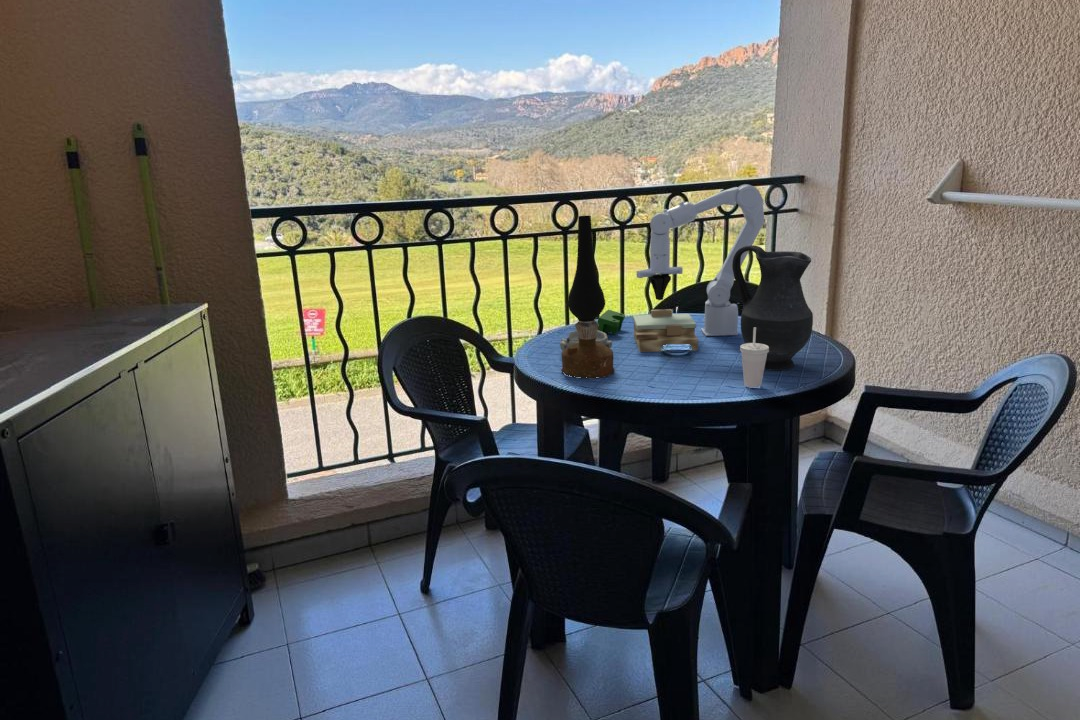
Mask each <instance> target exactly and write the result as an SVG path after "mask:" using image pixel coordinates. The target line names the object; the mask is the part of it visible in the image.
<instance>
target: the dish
mask: <svg viewBox="0 0 1080 720" xmlns="http://www.w3.org/2000/svg"><path fill="white" fill-rule="evenodd" d="M567 337H569V339H570V340H579V339H578V337H579V334H578V332H577V330H576V329H575V330H571V331H569V332H568V335H567ZM595 337H596V343H599V342H600V344H602V345H604V346H606V347H608V348H610V349H611V348H612V346H613V341H612V340H609V338H608V335H607V333H606V332H605V333H604V332H602V331H598V330H597V331H596V334H595ZM560 339H561V340H560V342H559V347H560V349H561V351H562V352H563V351H564V350H565V349H567V348H568V347H570V346H572V345H574V344H576V343H579V341H569V343H567V338H564V337H561V338H560ZM562 352H561V353H562Z"/></svg>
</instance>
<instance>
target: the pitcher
mask: <svg viewBox="0 0 1080 720" xmlns="http://www.w3.org/2000/svg"><path fill="white" fill-rule="evenodd" d="M746 251H749V252H753V253H755V258H756V261H757V262H758V265H759V270H760V280H759V281H760V282H759V284H758V287H757V289H756V291H755V294H754V295H753V297H752V296H751V293H750V291H749V287H748V285H747V283H746V279H745V277H744V275H743V270H742V265H741V266H740V260H741V255H742V254H743V253H744V252H746ZM811 262H812V258H811V257H810V256H809V255H807V254H805V253H803V252H801V251H789V250H788V251H766V250H764V248H762V247H761V246H759V245H755V244H752V245H750V246H744V247H742V248H740V249H739V250H738V251H737V252H736V253H735V255H734V258H733V264H732V268H733V274H734V278H735V279H734V281H735V283H736V286H737V290H738V294H739V296H740V299H741V302H742V311H741V313H740V314H741V315H740V333H741V337H742V339H743V342H744V344H746V343H753V329H754V327H756V339H755V343H760V344H765V345H767V346H769V352H768V353H767V357H766V362H765V368H764V370H766V369H771V370H770V371H786V370H785V369H787V370H790V369H792V368H794V366H795V363H794V361H793V357H795V355H796V354H797V353H798V352H800V351H801V350H802V349H803V348H804V347H805V346H806V345H807V344H808V342H809V340H810V338H811V335H812V332H813V325H814V315H813V314H814V313H813V311H812V310H811V308H810V307H809V305H808V303H807V302H806V298H805V295H804V291H803V287H802V283H801V278H802V276H803V275H804V273H805V271H806V270H807V269H808V267H809V266H810V263H811Z"/></svg>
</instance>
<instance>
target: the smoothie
mask: <svg viewBox="0 0 1080 720" xmlns="http://www.w3.org/2000/svg"><path fill="white" fill-rule="evenodd" d="M755 339H756V327H754V329H753V343H746V344H745V343H743V344H740V346H739V347H740V349H739V351H740V352H741V360H742V361H741V362H742V363H741V364H742V373H743V384H744V385H745V386H748V387H759V386H761V387H762V382H763V378H764V371H765V369H764V368H765V362H766V357H767V353H768V352H769V346H767V345H765V344H760V343H755ZM744 385H743V386H744ZM745 386H744V387H745Z"/></svg>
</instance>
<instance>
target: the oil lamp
mask: <svg viewBox="0 0 1080 720" xmlns="http://www.w3.org/2000/svg"><path fill="white" fill-rule="evenodd" d="M577 221H578V223H577V229H578V230H577V257H576V268H575V269H576V270H575V273H574V278H573V282H572V286H571V287H570V291H569V292H568V299H567V307H568V310H569V312H570V313H571V314H572V315H573V317H576V318H577V320H578V321H577V322H576V323H575V324H574V327H575V331H576V330H577V332H578V334H579V337H578V339H579V340H570V339H569V337H568V336H567V338H566V340H567V343H569V341H579V343H576V344H574V345H572V346H570V347H568V348H567V349H565V350H564V351H563V352H561V363H562V364H561V365H562V368H561V369H560V371H562V372H561V373H563V372H564V373H565V374H566V375H568V376H569V375H570V376H572V377H574V376H575V377H581V378H586V377H587V378H596V377H603V378H605V377H604V376H606V377H609V376H611V375H612V374H614V372H615V367H614V352H613V350H612V349H611V348H608V347H606V346H604V345H602V344H600V342H599V343H596V337H595V334H596V331H597V329H598V326H599V324H598V323H597V322H598V321H596V320H597V318H598V317H599V316H601V315H602V312H603V311H604V310H605V306H606V299H605V295H604V291H603V288H602V286H601V283H600V282H599V278H598V274H597V272H596V267H595V259H594V247H593V246H594V243H593V232H592V231H593V229H592V216H591V215H579V216H578V220H577ZM608 375H609V376H608Z"/></svg>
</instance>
